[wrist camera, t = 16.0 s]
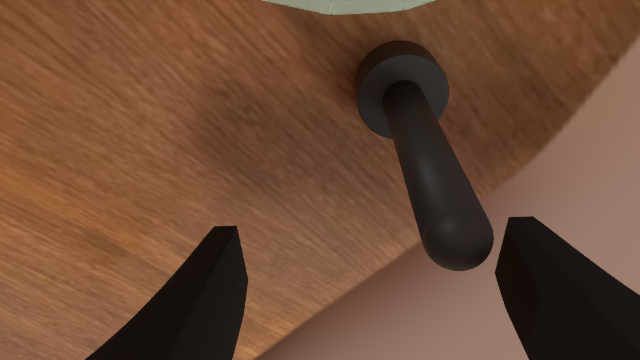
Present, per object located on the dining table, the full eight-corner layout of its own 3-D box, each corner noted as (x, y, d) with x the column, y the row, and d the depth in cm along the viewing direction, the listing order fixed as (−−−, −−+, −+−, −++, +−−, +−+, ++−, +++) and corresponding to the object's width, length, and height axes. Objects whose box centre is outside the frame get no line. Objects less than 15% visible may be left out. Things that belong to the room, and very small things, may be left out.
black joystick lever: (443, 38, 15) (575, 188, 7) (435, 119, 17) (533, 313, 9) (354, 42, 15) (384, 195, 7) (355, 123, 17) (380, 316, 9)
